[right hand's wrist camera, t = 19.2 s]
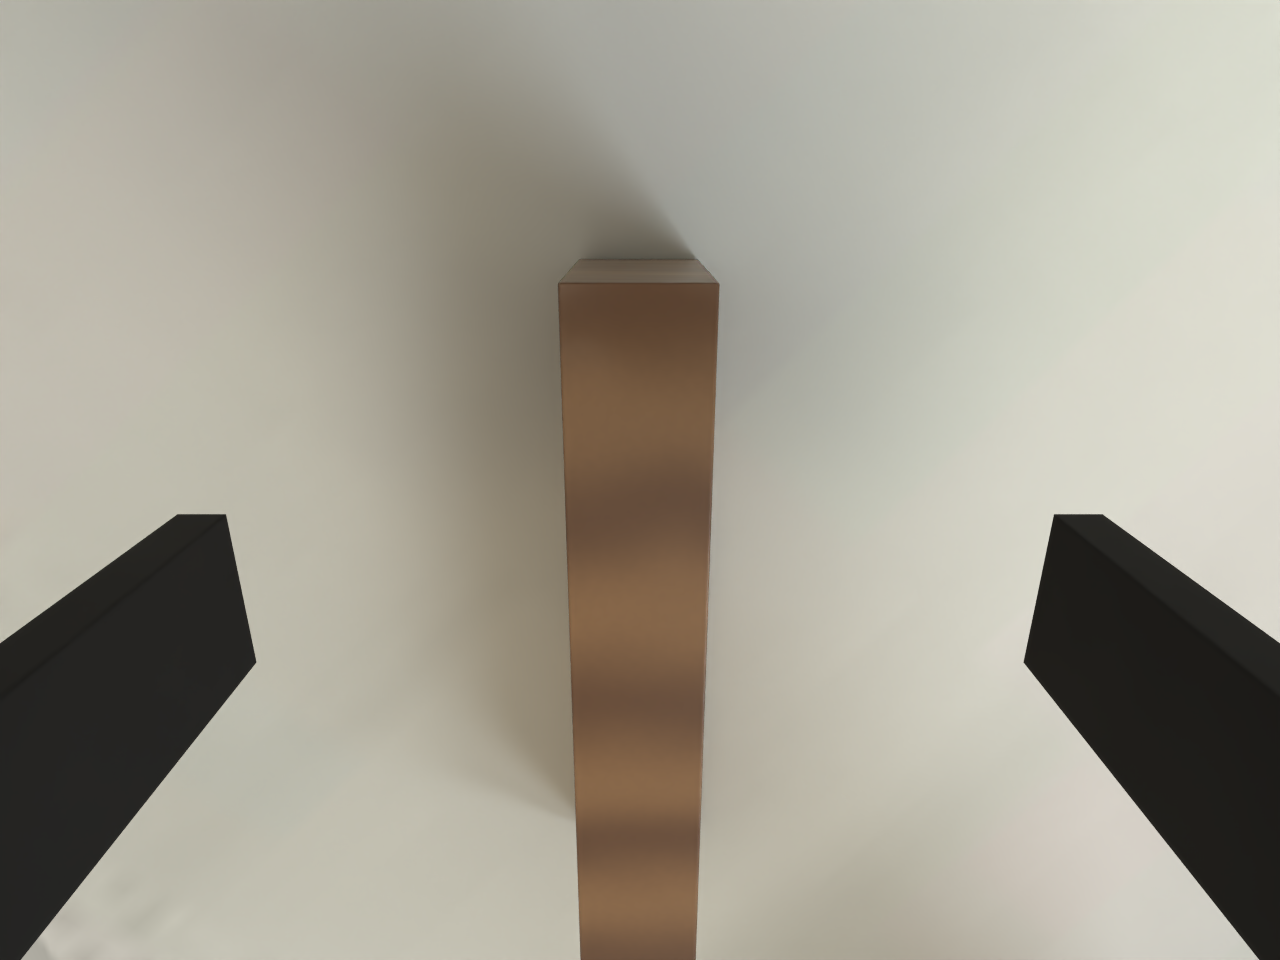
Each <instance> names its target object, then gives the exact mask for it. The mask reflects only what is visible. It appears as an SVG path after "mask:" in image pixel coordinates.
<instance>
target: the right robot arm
mask: <svg viewBox="0 0 1280 960" xmlns="http://www.w3.org/2000/svg"><path fill="white" fill-rule="evenodd" d="M255 663H256V658H255V653H254V649H253V644H252V639H251V634H250V629H249V624H248V619H247V615H246V610H245V605H244V600H243V595H242V590H241V585H240V581H239V576H238V571H237V566H236V561H235V556H234V551H233V547H232V542H231V537H230V532H229V527H228V522H227V517H226V514H177V515H176V516H175V517H173V518H172V519H171V520H169V521H168V522H166V523H165V524H164V525H162V526H161V527H160V528H158V529H157V530H155V531H154V532H153V533H151V534H150V535H149V536H147V537H146V538H144V539H143V540H142V541H140V542H139V543H138V544H136V545H135V546H133V547H132V548H131V549H129V550H128V551H127V552H125V553H124V554H122V555H121V556H120V557H118V558H117V559H116V560H114V561H113V562H111V563H110V564H109V565H107V566H106V567H105V568H103V569H102V570H100V571H99V572H98V573H96V574H95V575H94V576H92V577H91V578H89V579H88V580H87V581H85V582H84V583H83V584H81V585H80V586H78V587H77V588H76V589H74V590H73V591H72V592H70V593H69V594H67V595H66V596H65V597H63V598H62V599H61V600H59V601H58V602H56V603H55V604H54V605H52V606H51V607H50V608H48V609H47V610H45V611H44V612H43V613H41V614H40V615H39V616H37V617H36V618H34V619H33V620H32V621H30V622H29V623H28V624H26V625H25V626H23V627H22V628H21V629H19V630H18V631H16V632H15V633H14V634H12V635H11V636H10V637H8V638H7V639H5V640H4V641H3V642H1V643H0V960H21V959H22V957H23V956H24V955H25V954H26V952H27V951H28V950H29V949H30V947H31V946H32V945H33V944H34V942H35V941H36V940H37V939H38V937H39V936H40V935H41V933H42V932H43V931H44V930H45V928H46V927H47V926H48V925H49V923H50V922H51V921H52V920H53V918H54V917H55V916H56V915H57V913H58V912H59V911H60V909H61V908H62V907H63V906H64V904H65V903H66V902H67V901H68V899H69V898H70V897H71V896H72V894H73V893H74V892H75V891H76V889H77V888H78V887H79V886H80V884H81V883H82V882H83V880H84V879H85V878H86V877H87V875H88V874H89V873H90V872H91V870H92V869H93V868H94V867H95V865H96V864H97V863H98V862H99V860H100V859H101V858H102V856H103V855H104V854H105V853H106V851H107V850H108V849H109V848H110V846H111V845H112V844H113V843H114V841H115V840H116V839H117V838H118V836H119V835H120V834H121V833H122V831H123V830H124V829H125V827H126V826H127V825H128V824H129V822H130V821H131V820H132V819H133V817H134V816H135V815H136V814H137V812H138V811H139V810H140V809H141V807H142V806H143V805H144V803H145V802H146V801H147V800H148V798H149V797H150V796H151V795H152V793H153V792H154V791H155V790H156V788H157V787H158V786H159V785H160V783H161V782H162V781H163V780H164V778H165V777H166V776H167V774H168V773H169V772H170V771H171V769H172V768H173V767H174V766H175V764H176V763H177V762H178V761H179V759H180V758H181V757H182V756H183V754H184V753H185V752H186V750H187V749H188V748H189V747H190V745H191V744H192V743H193V742H194V740H195V739H196V738H197V737H198V735H199V734H200V733H201V732H202V730H203V729H204V728H205V727H206V725H207V724H208V723H209V721H210V720H211V719H212V718H213V716H214V715H215V714H216V713H217V711H218V710H219V709H220V708H221V706H222V705H223V704H224V703H225V701H226V700H227V699H228V697H229V696H230V695H231V694H232V692H233V691H234V690H235V689H236V687H237V686H238V685H239V684H240V682H241V681H242V680H243V679H244V677H245V676H246V675H247V674H248V672H249V671H250V670H251V668H252V667H253V666H254V665H255ZM1024 663H1025V665H1026V666H1027V667H1028V668H1029V670H1030V671H1031V672H1032V674H1033V675H1034V676H1035V677H1036V679H1037V680H1038V681H1039V682H1040V684H1041V685H1042V686H1043V687H1044V689H1045V690H1046V691H1047V692H1048V694H1049V695H1050V696H1051V697H1052V699H1053V700H1054V701H1055V703H1056V704H1057V705H1058V706H1059V708H1060V709H1061V710H1062V711H1063V713H1064V714H1065V715H1066V716H1067V718H1068V719H1069V720H1070V721H1071V723H1072V724H1073V725H1074V727H1075V728H1076V729H1077V730H1078V732H1079V733H1080V734H1081V735H1082V737H1083V738H1084V739H1085V740H1086V742H1087V743H1088V744H1089V745H1090V747H1091V748H1092V749H1093V750H1094V752H1095V753H1096V754H1097V756H1098V757H1099V758H1100V759H1101V761H1102V762H1103V763H1104V764H1105V766H1106V767H1107V768H1108V769H1109V771H1110V772H1111V773H1112V774H1113V776H1114V777H1115V778H1116V780H1117V781H1118V782H1119V783H1120V785H1121V786H1122V787H1123V788H1124V790H1125V791H1126V792H1127V793H1128V795H1129V796H1130V797H1131V798H1132V800H1133V801H1134V802H1135V803H1136V805H1137V806H1138V807H1139V809H1140V810H1141V811H1142V812H1143V814H1144V815H1145V816H1146V817H1147V819H1148V820H1149V821H1150V822H1151V824H1152V825H1153V826H1154V827H1155V829H1156V830H1157V831H1158V833H1159V834H1160V835H1161V836H1162V838H1163V839H1164V840H1165V841H1166V843H1167V844H1168V845H1169V846H1170V848H1171V849H1172V850H1173V851H1174V853H1175V854H1176V855H1177V856H1178V858H1179V859H1180V860H1181V862H1182V863H1183V864H1184V865H1185V867H1186V868H1187V869H1188V870H1189V872H1190V873H1191V874H1192V875H1193V877H1194V878H1195V879H1196V880H1197V882H1198V883H1199V884H1200V886H1201V887H1202V888H1203V889H1204V891H1205V892H1206V893H1207V894H1208V896H1209V897H1210V898H1211V899H1212V901H1213V902H1214V903H1215V904H1216V906H1217V907H1218V908H1219V909H1220V911H1221V912H1222V913H1223V915H1224V916H1225V917H1226V918H1227V920H1228V921H1229V922H1230V923H1231V925H1232V926H1233V927H1234V928H1235V930H1236V931H1237V932H1238V933H1239V935H1240V936H1241V937H1242V939H1243V940H1244V941H1245V942H1246V944H1247V945H1248V946H1249V947H1250V949H1251V950H1252V951H1253V952H1254V954H1255V955H1256V956H1257V957H1258V959H1259V960H1280V643H1279V642H1277V641H1276V640H1275V639H1273V638H1272V637H1270V636H1269V635H1268V634H1266V633H1265V632H1264V631H1262V630H1261V629H1259V628H1258V627H1257V626H1255V625H1254V624H1252V623H1251V622H1250V621H1248V620H1247V619H1246V618H1244V617H1243V616H1241V615H1240V614H1239V613H1237V612H1236V611H1235V610H1233V609H1232V608H1230V607H1229V606H1228V605H1226V604H1225V603H1224V602H1222V601H1221V600H1219V599H1218V598H1217V597H1215V596H1214V595H1213V594H1211V593H1210V592H1208V591H1207V590H1206V589H1204V588H1203V587H1202V586H1200V585H1199V584H1197V583H1196V582H1195V581H1193V580H1192V579H1191V578H1189V577H1188V576H1186V575H1185V574H1184V573H1182V572H1181V571H1180V570H1178V569H1177V568H1175V567H1174V566H1173V565H1171V564H1170V563H1169V562H1167V561H1166V560H1164V559H1163V558H1162V557H1160V556H1159V555H1158V554H1156V553H1155V552H1153V551H1152V550H1151V549H1149V548H1148V547H1147V546H1145V545H1144V544H1142V543H1141V542H1140V541H1138V540H1137V539H1136V538H1134V537H1133V536H1131V535H1130V534H1129V533H1127V532H1126V531H1125V530H1123V529H1122V528H1120V527H1119V526H1118V525H1116V524H1115V523H1114V522H1112V521H1111V520H1109V519H1108V518H1107V517H1105V516H1104V515H1103V514H1054V517H1053V522H1052V527H1051V532H1050V537H1049V542H1048V547H1047V551H1046V556H1045V561H1044V566H1043V571H1042V576H1041V581H1040V585H1039V590H1038V595H1037V600H1036V605H1035V610H1034V615H1033V619H1032V624H1031V629H1030V634H1029V639H1028V644H1027V649H1026V653H1025V658H1024Z"/></svg>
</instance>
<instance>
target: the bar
mask: <svg viewBox="0 0 1280 960" xmlns="http://www.w3.org/2000/svg"><path fill="white" fill-rule="evenodd" d="M558 302H559V332H560V361H561V391H562V421H563V451H564V480H565V510H566V540H567V569H568V599H569V629H570V659H571V688H572V718H573V748H574V778H575V807H576V837H577V867H578V896H579V926H580V956H581V960H696V933H697V905H698V877H699V848H700V820H701V792H702V763H703V735H704V707H705V678H706V650H707V622H708V593H709V565H710V537H711V508H712V480H713V452H714V424H715V395H716V367H717V339H718V310H719V283H718V282H717V281H716V280H715V278H714V277H713V276H712V275H711V274H710V273H709V272H708V271H707V269H706V268H705V267H704V266H703V265H702V264H701V263H700V262H699V261H698V260H697V259H580V260H578V261H577V263H576V264H575V265H574V266H573V267H572V268H571V269H570V271H569V272H568V273H567V274H566V275H565V276H564V277H563V279H562V280H561V281H560V282H559V283H558Z"/></svg>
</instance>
